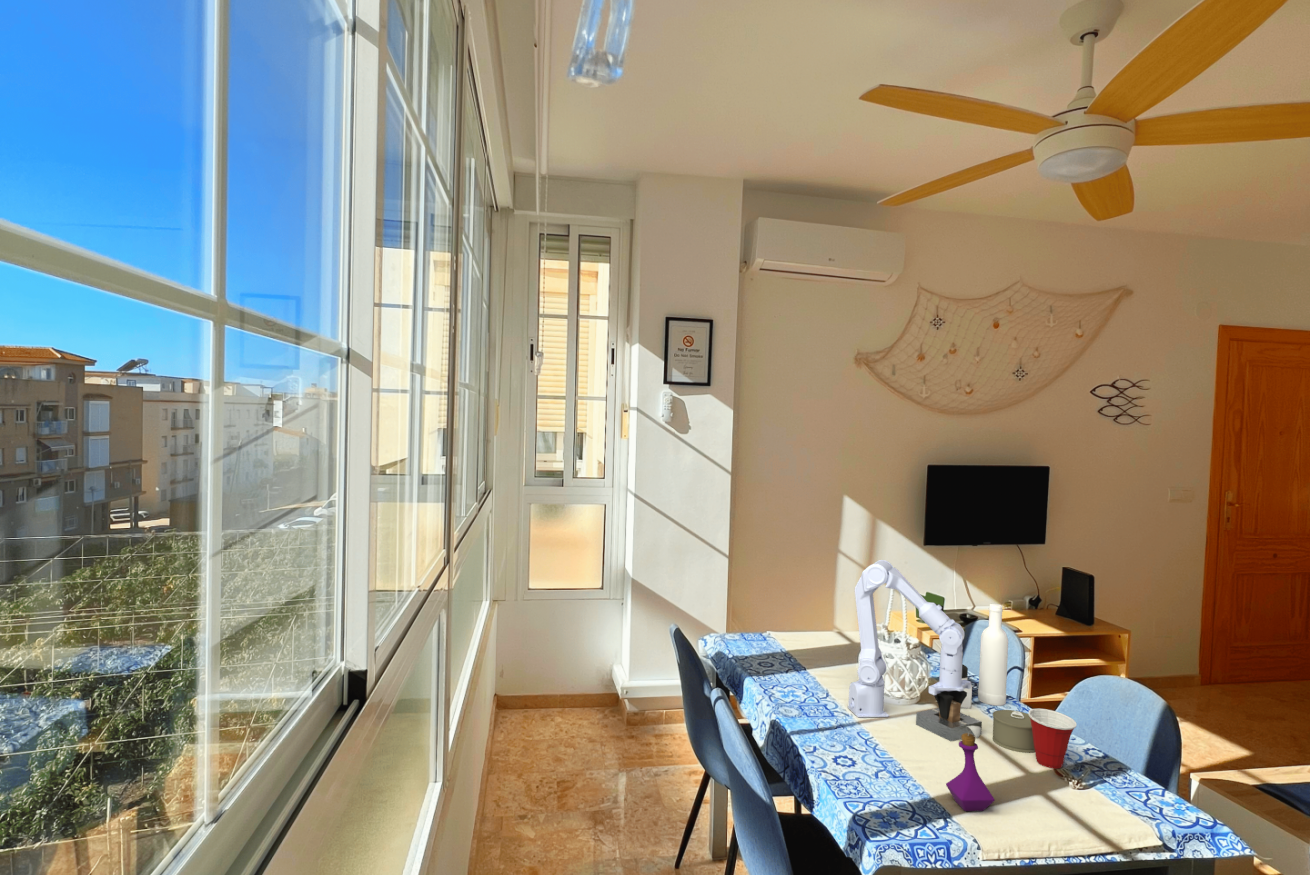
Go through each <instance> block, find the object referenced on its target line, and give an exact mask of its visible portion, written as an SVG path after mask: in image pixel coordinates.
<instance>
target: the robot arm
mask: <svg viewBox="0 0 1310 875" xmlns="http://www.w3.org/2000/svg"><path fill="white" fill-rule="evenodd" d="M885 584H886V585H885ZM883 585H885V588H886V589H891V590H896V591H898V592H899V594H901V595H902V596H903V597H904V598H905V599H906V600H907V601H908V602H909V603H910V604H912V605H913V606H914V607H915V608H916V609H917V610H918V616H919V618H920V619H921V620H922V621H923V622H924V623H925V624H926V626H928V627H929V628H930V630H932V631H933V632H934V633H935V634H936V635H938V638H939V641H940V643H941V650H940V658H939V675H938V676H939V680H938V681H937V682H935V683H934V684H931V685H928V694H930V695H933V696H934V698H935V700H936V703H937V708H939V711H940V716H941V717H942V718H944V719H948V717H949V712H950V705H951V702H952V700H953V701H956V702H958V703H960V704H962V702H963V700H964V699H965V698H966V696H967V692H965V691H964V689H965V688H967V689H971V685H972V681H969V680H968V679H967V680H962V664H963V656H964V655H963V654H964V653H963V641H964V639H965V631H964V629H963V627H962V626H961V624H960V623H958V622H956V621H955V620H954V619H953V618H950V617H949V616H948V615H947V614H946V613H945V612H944V611H943V610H942V609H943V607H942V606H941V604H936V603H935V602H929V601H928V600H926V599H925V598H924V597H923V596H922V594H920V592H919V591H918V590H917V589H916V588H915V587H914V586H913V585H912V583H911V582H909V581H908V579H906V577H905V576H904V575H903V574H902V572H900V570H899V569H897V567H894V566H893V564H892V563H891V562H889V561H888V560H885V559H879V560H877V561H876V562H874V563H873V564H872V563H871V564H870V565H869V566H867V567H866V568H865V569H864V570H863V571H862V572H861V575H860V578H859V579H858V581H857V583H856V585H855V587H854V597H855V598H854V599H855V605H856V606H855V607H856V614H857V623H858V624H857V625H858V633H859V641H860V654H859V658H858V659H859V665H858V668H857V676H858V680H856V681H853V682H850V684H849V688H848V705H847V708H848V709H849V710H850V711H851V712H852V713H853V714H854V715H855V716H856V718H889V717H890V714H888V713H887V712H886V711H885V710H884V705H885V704H884V703H885V702H884V701H885V700H884V699H885V680H884V678H883V676H884V675H885V674H886V672H887V664H886V662H885V660H884V658H883V652H882V651H881V649H880V647H879V646H880V645H879V637H878V626H877V619H876V618H877V617H876V610H875V600H874V593H875V592H876V591H877V590H878V589H879V588H880V587H881V586H883Z"/></svg>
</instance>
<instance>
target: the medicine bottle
mask: <svg viewBox="0 0 1310 875" xmlns="http://www.w3.org/2000/svg"><path fill="white" fill-rule="evenodd" d="M968 671H969V668H968V667H967V665H965V664H963V663H962V680H968V677H969V676H968V675H969V674H968V673H969V672H968ZM964 691H965V692H967V696H966V698H965V699H964V700H963V702H962V704H961V709H972V695H973V694H972V693H973V685H972V684H971V689H967V688H965V689H964Z"/></svg>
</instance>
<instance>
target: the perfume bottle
mask: <svg viewBox="0 0 1310 875" xmlns="http://www.w3.org/2000/svg"><path fill="white" fill-rule="evenodd" d="M966 729H967V730H968V733H965V734H962V735H961V738H962V739H961V740H960V741H959V742H958V746H959V748H961V750H962V751H963V753H964V754H963V755H964V766H963V769H962V771H961V772H960V773H959V774H957V776H955V777H954V778H952V779H951V780H949V781H948V782H946V783H945V784H946V785H945V786H946V787H947V789H948V791H949V793H950V794H951V796H952V797H953V800H954V801H955V803H956V804H957V805H958V806H959V807H960V808H961V809H962V810H963V811H964V812H983V811H985V810H986V809H987V808H988V807H989V806H990V805H991V804H993V803H994V802H995V801H996V800H995V798H994V796H993V795H992V793H991V791H990V790H989V789H988V788H989V787H987V786H986V784H985V782H984V781H983V779H982V777H981V776H980V775H979V772H978V769H977V766H976V762H975V752H976V750H978V749H979V746H978V744H977V743H976V739H977V740H978V739H979V738H980V731H981V728H980V727H979V726H966ZM971 730H972V732H973V734H974V735H975V736H973V735H972V734H969V732H970V731H971Z"/></svg>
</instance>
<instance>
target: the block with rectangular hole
mask: <svg viewBox="0 0 1310 875" xmlns="http://www.w3.org/2000/svg"><path fill="white" fill-rule="evenodd" d="M915 716H916V717H915V725H916V726H917V727H919V728H922V729H924V730H926V731H928V732H929V733H930V732H931V733H932V734H934V735H937V736H939V737H940V738H943V739H944V740H947V741H949V742H955V741H959V740H962V738H961V735H962V734H965V733H968V730H967V729H966V726H979V727H980V728H981V731H980V735H982V730H983V729H982V726H983V721H982V720H980V719H977V718H974V717H972V716H969V715H967V714H965V713H963V712H961V711H960V721H957V722H953V723H952V722H950V721H947V720H945V719H943V718H941V717H939V707H937V708H931V709H926V710H922V711H917V712H916V714H915ZM969 734H972V735H973V736H975V735H974V734H973V732H972V730H971V731H970V732H969Z"/></svg>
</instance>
